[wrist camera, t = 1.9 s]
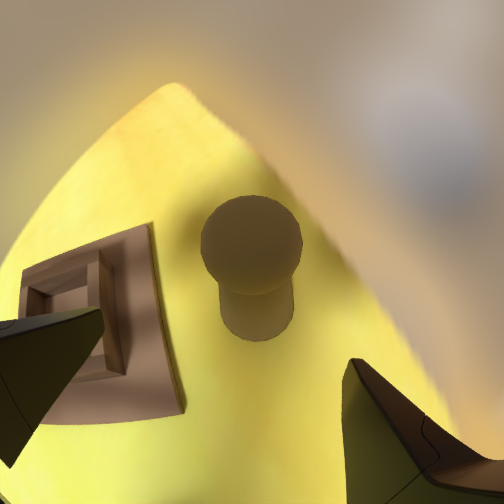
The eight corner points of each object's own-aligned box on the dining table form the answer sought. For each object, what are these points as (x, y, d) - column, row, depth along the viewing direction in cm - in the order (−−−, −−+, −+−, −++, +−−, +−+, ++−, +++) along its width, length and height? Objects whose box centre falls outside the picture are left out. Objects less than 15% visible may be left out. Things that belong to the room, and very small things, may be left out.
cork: (214, 281, 23) (180, 192, 14) (282, 265, 24) (290, 169, 14) (228, 349, 20) (193, 298, 11) (303, 330, 21) (335, 263, 11)
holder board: (184, 413, 17) (166, 415, 14) (30, 423, 15) (4, 419, 12) (149, 229, 26) (135, 204, 23) (27, 273, 24) (8, 257, 21)
